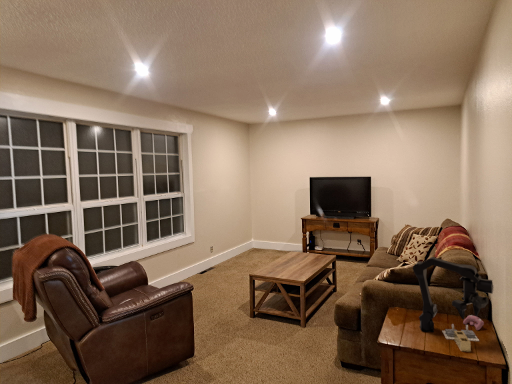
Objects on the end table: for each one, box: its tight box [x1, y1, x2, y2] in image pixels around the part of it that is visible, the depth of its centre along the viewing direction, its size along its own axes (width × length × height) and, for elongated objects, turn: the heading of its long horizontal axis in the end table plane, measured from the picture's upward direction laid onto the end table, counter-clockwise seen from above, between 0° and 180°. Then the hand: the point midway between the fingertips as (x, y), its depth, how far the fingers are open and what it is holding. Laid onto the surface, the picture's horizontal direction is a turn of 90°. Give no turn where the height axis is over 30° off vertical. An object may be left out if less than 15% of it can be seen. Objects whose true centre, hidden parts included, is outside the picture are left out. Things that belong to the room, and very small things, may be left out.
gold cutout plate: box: [453, 330, 472, 353], centre depth 183 cm, size 12×4×5 cm, turn 165°
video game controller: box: [462, 314, 485, 331], centre depth 202 cm, size 10×5×7 cm, turn 17°
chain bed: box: [441, 323, 480, 342], centre depth 192 cm, size 16×9×6 cm, turn 75°
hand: (469, 317), depth 187 cm, fingers open, 9 cm apart
